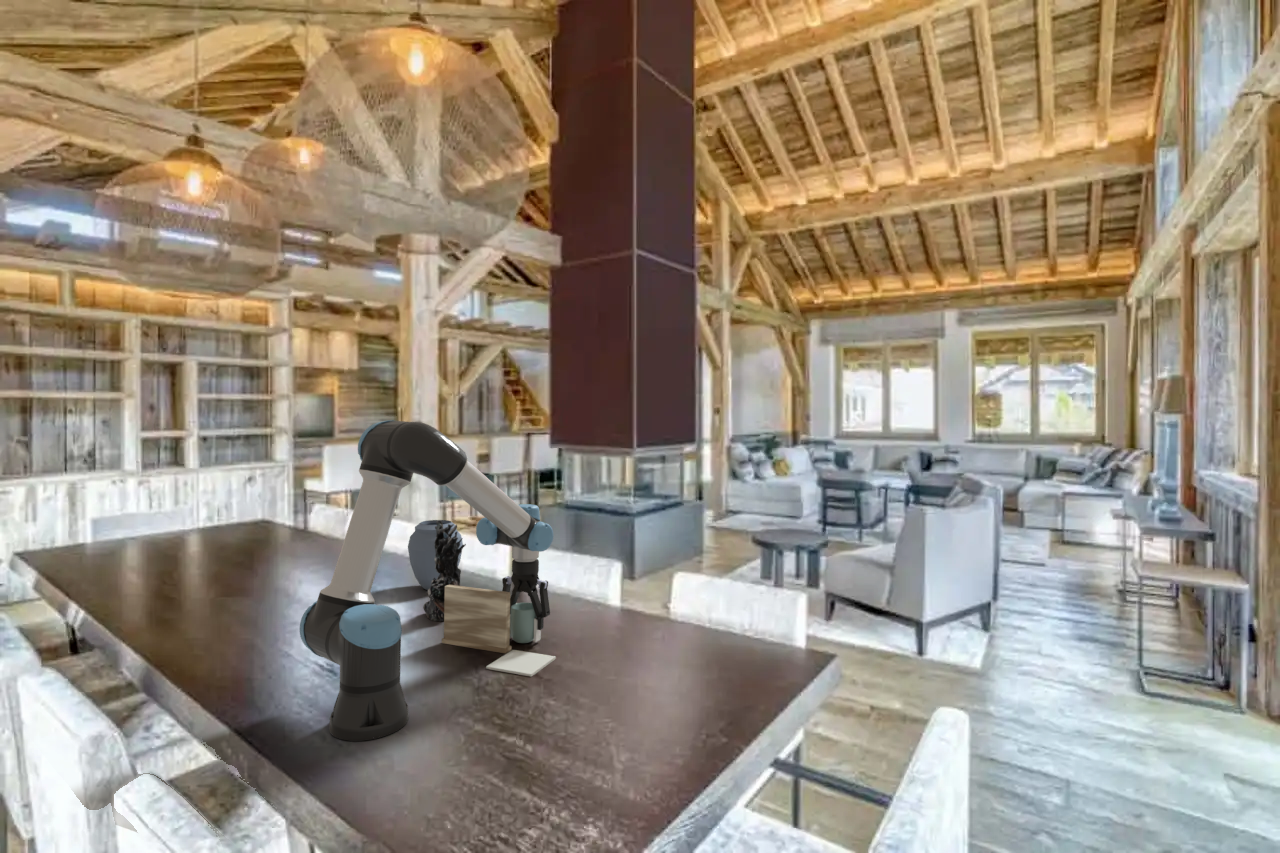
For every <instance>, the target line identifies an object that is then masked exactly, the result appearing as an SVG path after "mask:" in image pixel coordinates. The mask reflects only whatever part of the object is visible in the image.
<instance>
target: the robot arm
mask: <svg viewBox="0 0 1280 853" xmlns="http://www.w3.org/2000/svg"><path fill="white" fill-rule="evenodd" d="M357 454H358V455H359V459H360V461H361V463H360V466H359V469H358V472H359V474H360V476H361V477H362V482H361V486H360V490H359V492H358V496H357V499H356V502H355V504H354V508H353V511H352V514H351V518H350V521H349V524H348V526H347V527H348V528H347V530H346V534H345V535H344V536H345V537H344V540H343V543H342V545H341V550H340V553H339V556H338V559H337V562H336V565H335V568H334V571H333V574H332V578H331V580H330V584H328V585H326V587H324V588H321V590H320V591H319V594H318V597H317V600H316V601H315V602H313V603H312V605H310V606H308V607H307V608H306V610H304V612H303V614H302V615H301V616H302V617H301V618H300V622H299V636H300V639H301V642H302V643H303V644H304V646H305V647H306V648H307V649H308V650H310V651H311V652H312V653H313V654H314V655H315V656H318V657H321V658H324V659H326V660H328V661H330V662H332V663H334V664H337V665H339V690H338V694H337V696H336V700H335V703H334V706H333V710H332V712H331V714H330V717H329V733H330V735H332V736H333V737H335V738H336V739H339V740H342V741H351V742H355V741H356V742H357V741H358V742H360V741H361V742H362V741H370V740H376V739H379V738H383V737H385V736H389V735H391V734H395V733H396V732H397V731H399V730H401V729H402V728H403V727H405V726H406V724H407V723H408V721H409V705H408V703H407V702H406V699H405V695H404V691H403V688H402V683H401V657H402V656H401V652H402V651H401V650H402V648H401V647H402V645H401V644H402V633H403V629H402V622H401V616H400V613H398V611H397V610H396V609H394V608H392V607H390V606H389V605H384V604H379V605H377V603H375V598H374V596H373V595H372V592H371V590H372V588H373V584H374V581H375V577H376V574H377V570H378V568H379V565H380V564H379V563H380V561H381V557H382V554H383V550H384V548H385V544H386V541H387V537H388V535H389V531H390V528H391V525H392V521H393V518H394V514H395V512H396V509H397V504H398V501H399V498H400V494H401V491H402V489H403V488H405V487H407V486H408V485H410V484H411V481H412V479H413V474H415V475H419V476H423V477H425V478H428V479H429V480H430V481H432V482H433V483H435V484H436V486H437V485H438V486H439V487H443V486H445V487H447V488H448V489H449V490H450V491H452V492H453V493H454V494H455V495H457V496H458V497H460V498H461V500H463V501H464V502H465V503H467V504H468V505H469V506H470V507H472V508H473V509H475V511H477V512H478V513H479V514H481V516H483V517H482V518H481V519H479V520H478V522H477V524H476V527H475V529H476V530H475V532H476V533H475V535H476V538H477V540H478V542H479V543H480V544H482V545H483V546H494V545H503V546H508V547H511V548H512V550H511V552H512V553H511V557H512V561H511V573H512V574H511V576H509V575H507V576H505V577H502V579H501V580H502V590H501V591H504V592H510V593H511V592H512V593H511V594H510V610H511V606H512V605H514V604H516V603H518V602H517V601H518V599H519V596H520V594H521V593H522V592H523V593H526V594H527V596H528V597H529V599H530V603H532V605H533V608H534V611H535V614H536V617H537V618H535V619H534V640H533V643H538V642H539V641H540V640H541V638H542V636H541V635H542V630H543V629H544V619H545V618H547V617H548V616H550V615H551V609H550V600H549V593H548V591H549V590H548V586H549V581H548V580H542V579H540V578H539V571H540V569H539V568H540V561H539V559H538V558H539V556H540V552H545V551H547V550H548V549H549V548H550V547H551V545H552V543H553V541H554V535H555V534H554V529H553V528H552V526H551V525H550V524H549V523H547V522H544V521H541V513H540V507H539V506H538V505H536V504H530V503H522V504H521V503H520V504H518V503H516V502H515V501H514V500H513V499H512V498H511V497H510V496H508V495H507V493H505V492H504V491H503V490H502V489H501V488H500V487H498V486H497V485H496V484H495V483H494V482H493V481H491V480H490V479H489V478H488V477H487V476H486V475H485V474H484V473H482V471H480V470H479V469H478V468H477V467H476V466H475V465H474V464H473V463H471V462H470V461H469V459H468V454H467V453H466V451H465V450H463V449H462V448H461V447H460V446H459V445H457V443H455V442H454V441H453V440H452V439H450V438H449V437H448V436H447V435H445V434H444V433H442V432H441V431H440V430H438V429H437V428H435V427H433V426H432V425H430V424H427V423H425V422H421V421H403V420H402V421H400V420H392V419H391V420H390V419H389V420H384V421H383V420H382V421H377V422H375V423H373V424H372V425H369V426H368V427H367V428H366V429H365V430H364V431H363V432H362V434H361V435H360V438H359V439H358V444H357ZM512 584H513V589H512V590H511V586H512ZM537 586H538V588H537ZM538 590H539V595H538ZM511 638H512V636H511V628H510V639H511Z"/></svg>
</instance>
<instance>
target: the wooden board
mask: <svg viewBox="0 0 1280 853" xmlns="http://www.w3.org/2000/svg"><path fill="white" fill-rule="evenodd" d="M510 598H511V591H510V592H504V591H502V590H496V589H494V590H493V589H489V588H488V589H487V588H479V587H473V586H472V587H471V586H465V585H464V586H463V585H460V586H456V585H447V586H445V601H444V621H443V637H442V638H441V644H446V645H453V646H456V647H457V646H458V647H465V648H468V649H469V648H471V649H476V650H482V651H488V652H494V653H495V652H496V653H500V654H507V653H509V652H510V651H512V645H510V639H511V638H510Z"/></svg>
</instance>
